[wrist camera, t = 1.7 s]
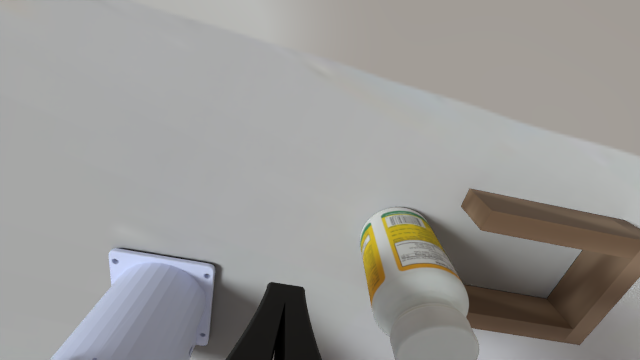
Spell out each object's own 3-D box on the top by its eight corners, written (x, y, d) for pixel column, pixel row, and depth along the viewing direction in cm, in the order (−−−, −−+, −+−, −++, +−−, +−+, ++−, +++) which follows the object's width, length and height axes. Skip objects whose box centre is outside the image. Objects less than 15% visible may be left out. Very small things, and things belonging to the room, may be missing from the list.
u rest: (553, 313, 27) (579, 344, 24) (419, 291, 25) (431, 321, 23) (625, 220, 22) (667, 245, 20) (469, 188, 21) (491, 210, 18)
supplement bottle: (404, 191, 21) (463, 297, 13) (441, 239, 23) (515, 360, 14) (344, 231, 23) (359, 350, 14) (383, 273, 25) (418, 401, 16)
